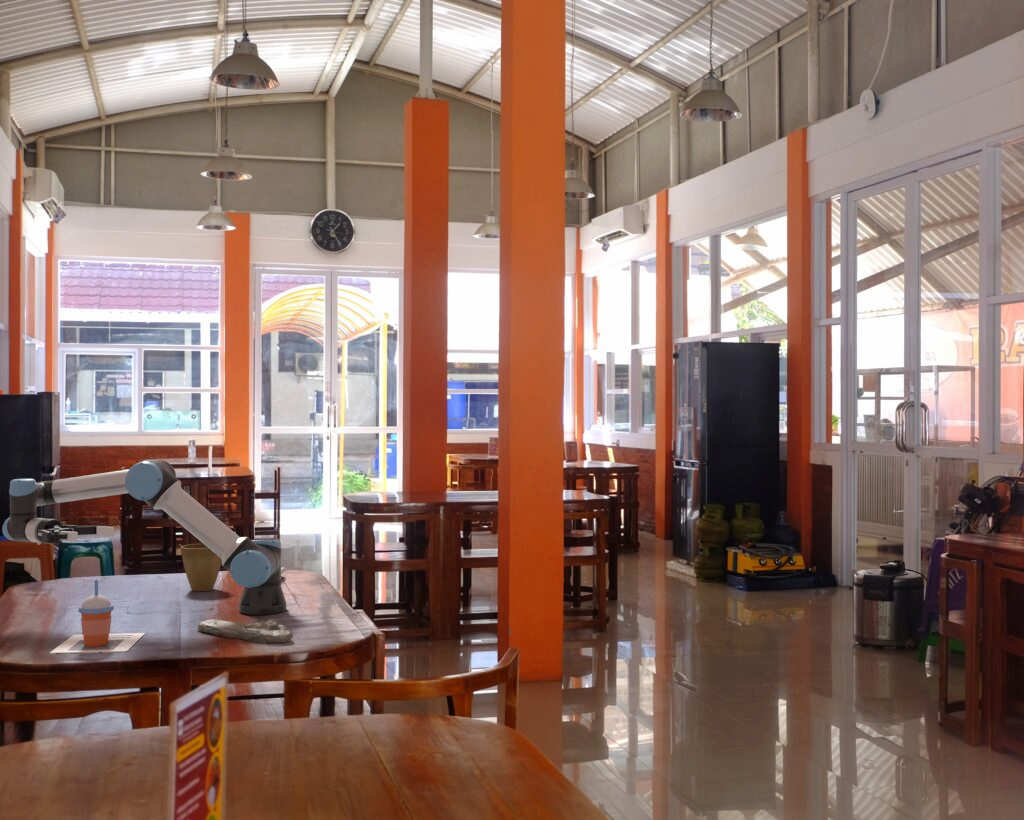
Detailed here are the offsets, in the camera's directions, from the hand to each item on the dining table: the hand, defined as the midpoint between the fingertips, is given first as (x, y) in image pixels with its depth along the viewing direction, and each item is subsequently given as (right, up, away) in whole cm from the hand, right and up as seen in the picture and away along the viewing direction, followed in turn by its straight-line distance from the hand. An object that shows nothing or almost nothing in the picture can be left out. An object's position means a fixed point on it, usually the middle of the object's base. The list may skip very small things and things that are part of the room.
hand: (95, 534), depth 311 cm
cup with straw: (+9, -28, -21) cm, 37 cm away
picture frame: (+9, -28, -19) cm, 35 cm away
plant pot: (+12, -28, +67) cm, 73 cm away
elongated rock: (+46, -29, -8) cm, 55 cm away
